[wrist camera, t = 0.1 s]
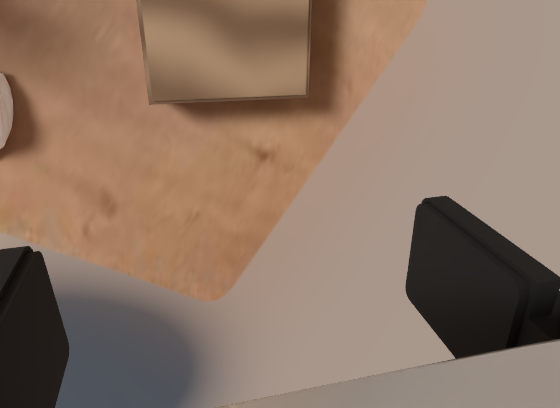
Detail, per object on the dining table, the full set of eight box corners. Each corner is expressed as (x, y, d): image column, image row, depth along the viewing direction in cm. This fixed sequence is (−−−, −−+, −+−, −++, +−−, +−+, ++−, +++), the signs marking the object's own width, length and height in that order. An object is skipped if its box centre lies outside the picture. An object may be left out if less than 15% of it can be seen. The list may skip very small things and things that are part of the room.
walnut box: (130, -83, 33) (124, -95, 28) (296, -76, 36) (315, -86, 31) (151, 91, 39) (149, 105, 34) (293, 86, 41) (309, 98, 37)
